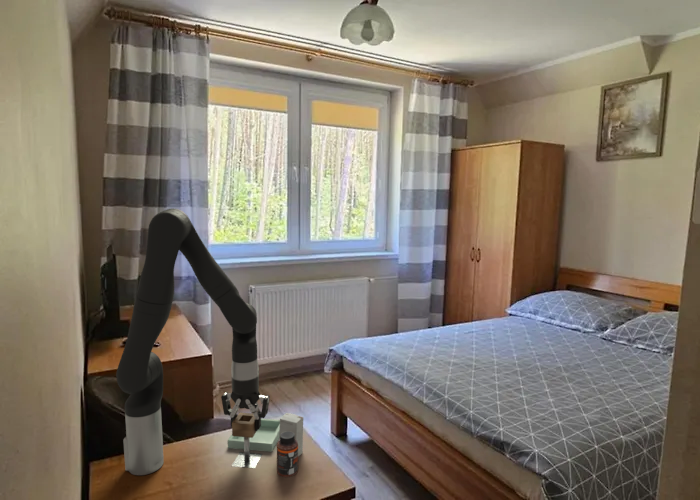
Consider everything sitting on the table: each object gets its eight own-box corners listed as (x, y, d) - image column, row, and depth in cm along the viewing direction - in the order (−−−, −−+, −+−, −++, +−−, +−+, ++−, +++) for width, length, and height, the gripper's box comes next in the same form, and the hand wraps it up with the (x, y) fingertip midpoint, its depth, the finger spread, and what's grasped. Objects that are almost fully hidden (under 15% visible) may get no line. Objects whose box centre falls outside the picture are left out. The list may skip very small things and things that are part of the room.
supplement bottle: (297, 478, 124) (297, 440, 123) (276, 479, 124) (275, 441, 122) (298, 465, 130) (298, 428, 129) (278, 465, 130) (277, 429, 128)
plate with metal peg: (231, 467, 129) (230, 441, 128) (240, 453, 136) (239, 428, 134) (254, 470, 128) (254, 443, 127) (262, 455, 135) (262, 430, 134)
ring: (232, 436, 128) (231, 422, 127) (241, 423, 135) (240, 410, 134) (252, 437, 127) (252, 424, 127) (260, 424, 134) (260, 412, 133)
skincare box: (278, 456, 134) (278, 418, 133) (286, 448, 138) (286, 411, 137) (296, 461, 132) (296, 423, 130) (304, 453, 136) (303, 416, 134)
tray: (227, 449, 138) (227, 440, 137) (244, 425, 151) (244, 417, 151) (272, 453, 136) (272, 443, 135) (284, 428, 150) (284, 420, 149)
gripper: (215, 377, 125) (217, 433, 128) (265, 381, 123) (266, 438, 126) (226, 367, 133) (227, 420, 135) (273, 370, 131) (273, 424, 133)
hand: (246, 428), depth 130 cm, fingers closed on ring, 6 cm apart
